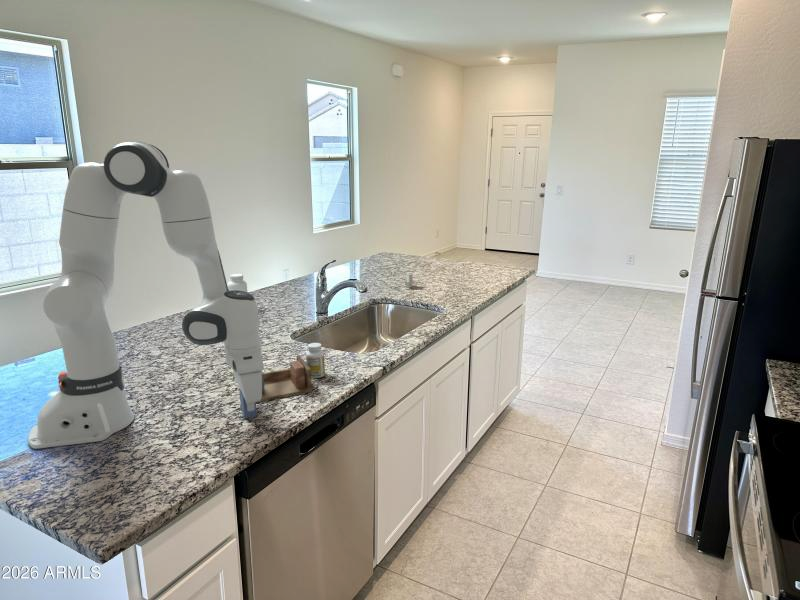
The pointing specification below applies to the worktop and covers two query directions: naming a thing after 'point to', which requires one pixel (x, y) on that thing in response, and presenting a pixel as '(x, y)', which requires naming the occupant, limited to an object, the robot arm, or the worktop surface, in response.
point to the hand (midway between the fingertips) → (248, 404)
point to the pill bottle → (237, 283)
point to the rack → (287, 381)
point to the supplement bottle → (315, 360)
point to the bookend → (263, 384)
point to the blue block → (244, 408)
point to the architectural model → (408, 281)
